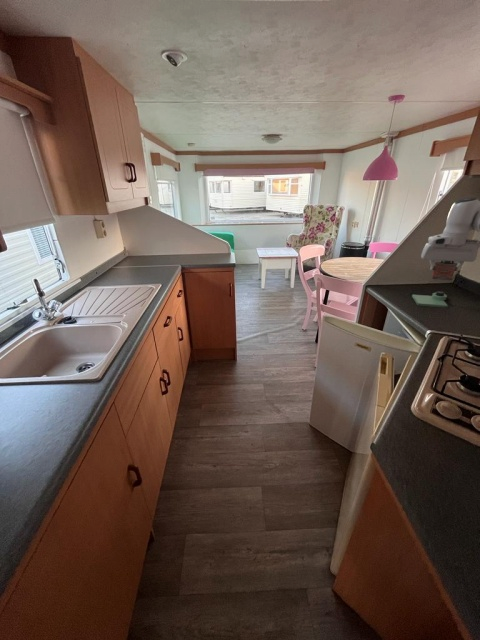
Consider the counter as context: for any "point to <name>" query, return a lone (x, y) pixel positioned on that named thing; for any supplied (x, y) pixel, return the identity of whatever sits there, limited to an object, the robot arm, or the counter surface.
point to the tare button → (440, 293)
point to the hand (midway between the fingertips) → (443, 270)
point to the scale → (430, 300)
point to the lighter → (444, 270)
